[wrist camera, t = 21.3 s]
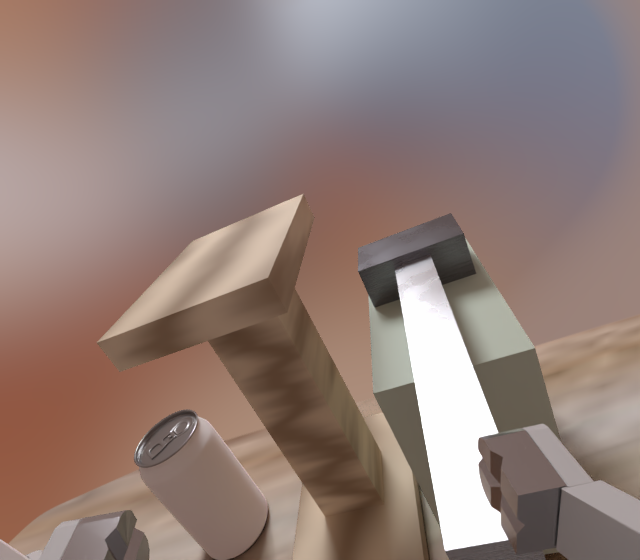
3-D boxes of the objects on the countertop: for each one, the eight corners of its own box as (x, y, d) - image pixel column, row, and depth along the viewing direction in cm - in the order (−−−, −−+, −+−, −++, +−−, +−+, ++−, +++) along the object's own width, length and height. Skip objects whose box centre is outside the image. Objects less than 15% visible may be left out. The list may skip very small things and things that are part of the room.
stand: (298, 594, 31) (96, 342, 21) (315, 441, 43) (192, 241, 34) (431, 572, 28) (268, 277, 19) (408, 417, 41) (303, 193, 31)
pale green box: (460, 568, 28) (373, 393, 21) (428, 412, 40) (367, 273, 34) (590, 547, 26) (535, 348, 19) (513, 390, 38) (465, 238, 32)
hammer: (394, 608, 13) (357, 552, 12) (372, 281, 32) (358, 247, 31) (646, 573, 11) (632, 503, 10) (462, 249, 31) (450, 213, 29)
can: (283, 513, 37) (215, 419, 33) (227, 579, 34) (142, 486, 29) (247, 482, 42) (184, 397, 38) (195, 537, 39) (119, 452, 34)
